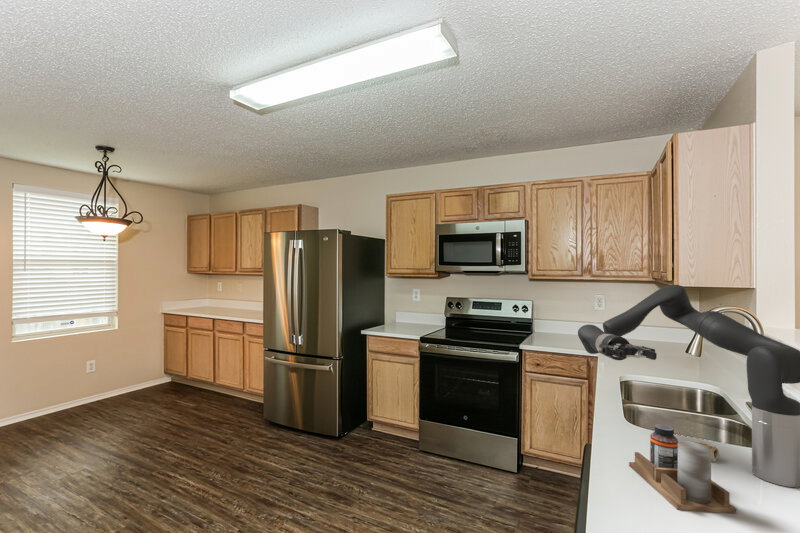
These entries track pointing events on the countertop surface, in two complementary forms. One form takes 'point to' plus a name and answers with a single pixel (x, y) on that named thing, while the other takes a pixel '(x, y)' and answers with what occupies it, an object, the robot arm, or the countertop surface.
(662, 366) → the countertop surface
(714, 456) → the pastry
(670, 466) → the supplement bottle
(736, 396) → the countertop surface
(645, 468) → the rail rack
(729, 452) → the countertop surface
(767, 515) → the countertop surface
